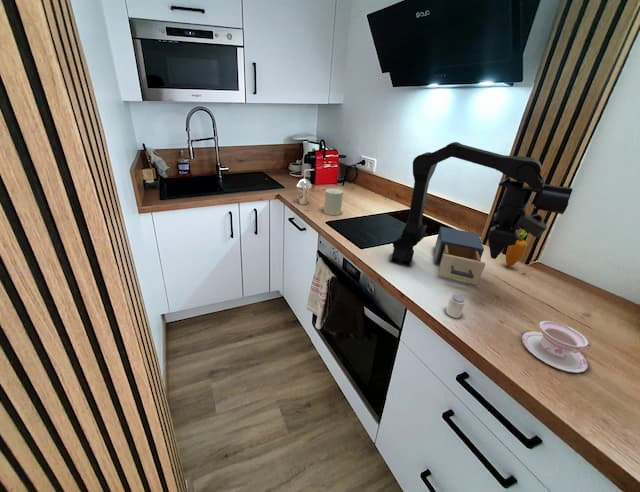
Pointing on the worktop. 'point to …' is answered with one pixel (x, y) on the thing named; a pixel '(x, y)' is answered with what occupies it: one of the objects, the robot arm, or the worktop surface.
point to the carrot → (516, 250)
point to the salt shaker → (455, 306)
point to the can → (333, 201)
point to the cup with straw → (304, 189)
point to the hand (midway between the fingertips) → (494, 252)
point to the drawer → (460, 264)
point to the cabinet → (457, 241)
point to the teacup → (558, 346)
